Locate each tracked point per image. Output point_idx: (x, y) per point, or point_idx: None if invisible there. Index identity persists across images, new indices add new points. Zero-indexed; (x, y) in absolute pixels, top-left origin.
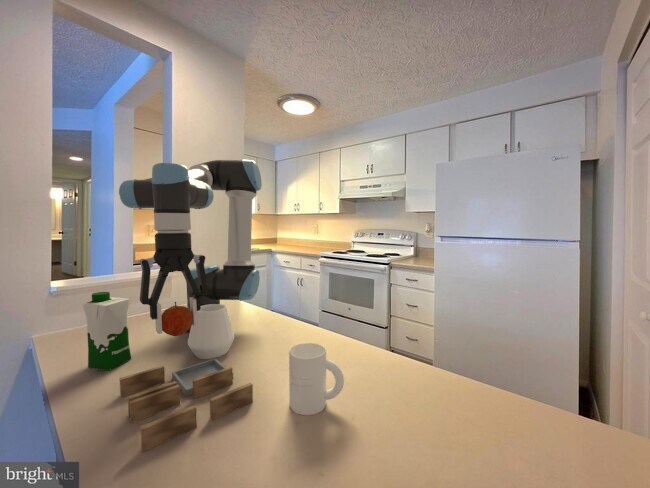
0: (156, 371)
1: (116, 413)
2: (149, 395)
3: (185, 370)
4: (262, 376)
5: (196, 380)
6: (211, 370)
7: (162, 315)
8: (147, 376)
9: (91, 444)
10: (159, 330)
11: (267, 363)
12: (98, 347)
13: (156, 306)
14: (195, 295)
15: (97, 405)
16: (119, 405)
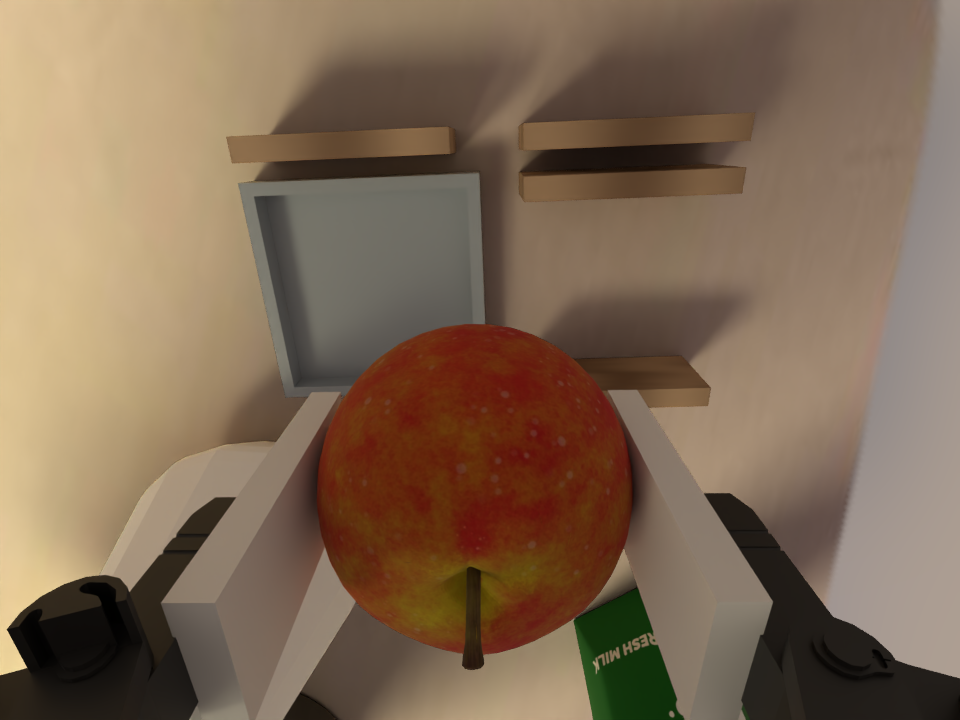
0: None
1: (729, 240)
2: (665, 134)
3: None
4: (106, 102)
5: (435, 129)
6: (326, 325)
7: (627, 523)
8: (596, 381)
9: (860, 68)
10: (638, 402)
11: (50, 221)
12: None
13: (758, 616)
14: (126, 678)
15: (759, 349)
16: (703, 295)
